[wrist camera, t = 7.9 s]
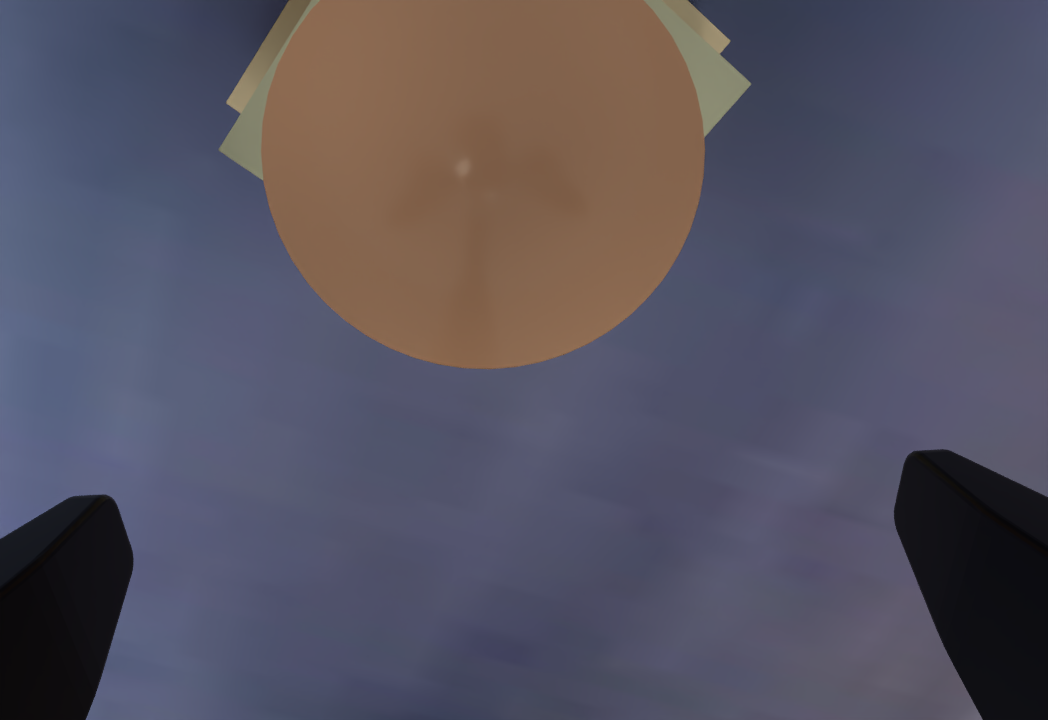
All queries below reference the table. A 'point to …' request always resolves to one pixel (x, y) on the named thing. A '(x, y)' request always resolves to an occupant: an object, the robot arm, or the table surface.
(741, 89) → the top block
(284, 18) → the base block
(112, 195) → the table surface
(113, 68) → the table surface
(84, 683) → the robot arm
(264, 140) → the orange-brown short cylinder
